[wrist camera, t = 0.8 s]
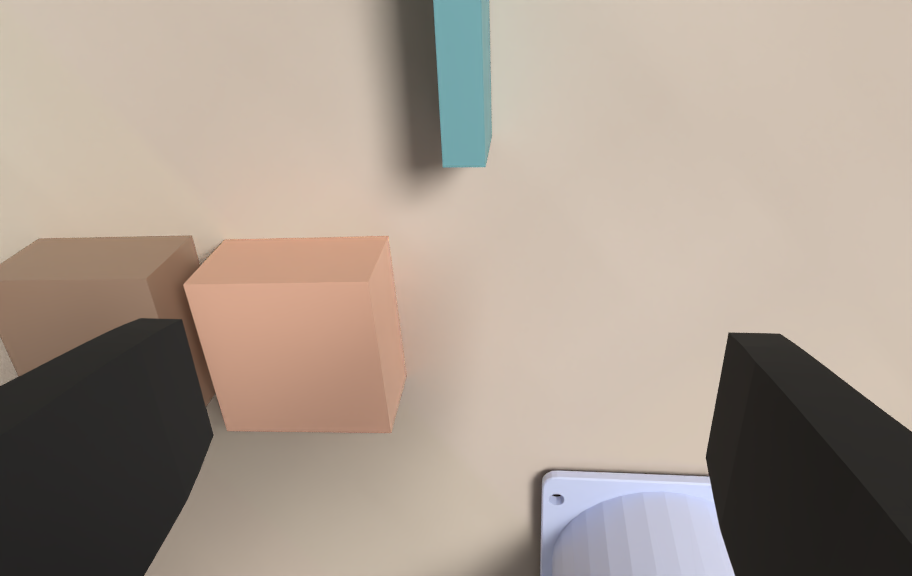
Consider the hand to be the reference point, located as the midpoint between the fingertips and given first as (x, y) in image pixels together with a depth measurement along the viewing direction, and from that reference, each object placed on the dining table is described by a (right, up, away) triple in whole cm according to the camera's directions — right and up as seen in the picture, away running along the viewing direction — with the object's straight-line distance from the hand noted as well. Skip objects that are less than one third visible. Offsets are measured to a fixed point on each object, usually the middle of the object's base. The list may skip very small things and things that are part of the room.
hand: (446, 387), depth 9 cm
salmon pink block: (-4, +1, +12) cm, 13 cm away
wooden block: (-10, +1, +13) cm, 16 cm away
